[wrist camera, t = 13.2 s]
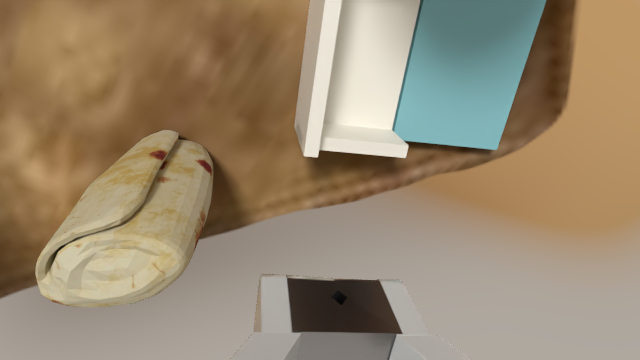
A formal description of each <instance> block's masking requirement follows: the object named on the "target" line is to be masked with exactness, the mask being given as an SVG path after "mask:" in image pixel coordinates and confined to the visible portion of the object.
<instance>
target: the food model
mask: <svg viewBox="0 0 640 360" xmlns="http://www.w3.org/2000/svg"><path fill="white" fill-rule="evenodd" d="M178 135H179V133H177V132H175V131H171V130H163V131H160V132H157V133H154V134H152V135H150V136H148V137H146V138H144V139H142V140H141V141H140V142H139V143H137V144H136V145H135V146H134V147H133V148H131V149H130V150H129V151H128V152H126V153H125V154H124V155H123V156H122V157H121V158H120V159H119V160H118V161H117V162H116V163H114V164H113V165H112V166H111V167H110V168H109V169H108V170H107V171H105V172H104V173H103V174H102V175H101V176H99V177H98V178H97V179H96V180H95V181H94V182H92V183H91V184H90V186H89V187H88V188H87V190H86V191H85V192H84V194H83V195H82V197H81V198H80V200H79V201H78V203H77V204H76V206H75V207H74V209H73V210H72V212H71V213H70V214H69V215H68V217H67V218H66V219H65V221H64V222H63V223H62V225H61V226H60V227H59V229H58V230H57V231H56V233H55V234H54V235H53V237H52V238H51V239H50V241H49V242H48V243H47V245H46V246H45V248H44V249H43V251H42V253H41V254H40V256H39V258H38V260H37V264H36V278H37V282H38V286H39V289H40V292H41V295H43V296H44V297H46V298H47V299H49V300H51V301H52V302H56V303H60V304H63V305H67V306H76V307H104V306H116V305H125V304H132V303H135V302H138V301H141V300H144V299H146V298H149V297H152V296H154V295H157V294H158V293H160V292H161V291H163V290H164V289H165V288H167V287H168V286H169V285H171V284H172V283H173V282H174V281H175V280H176V279H177V278H178V277H179V276H180V275H181V274H182V273H183V271H184V270H185V268H186V267H187V265H188V263H189V262H190V260H191V258H192V255H193V253H194V250H195V248H196V245H197V243H198V240H199V237H200V235H201V232H202V229H203V227H204V224H205V222H206V219H207V215H208V210H209V207H210V204H211V197H212V187H213V163H212V160H211V158H210V156H209V154H208V152H207V150H206V149H205V148H204V147H202V146H201V145H199V144H197V143H195V142H192V141H187V140H179V139H178Z"/></svg>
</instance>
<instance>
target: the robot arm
mask: <svg viewBox="0 0 640 360" xmlns="http://www.w3.org/2000/svg"><path fill="white" fill-rule="evenodd" d="M230 360H471V359H470V358H468V357H467V356H465V355H464V354H463V353H461V352H460V351H459V350H457V349H456V348H454V347H453V346H452V345H450V344H449V343H448V342H446V341H445V340H443V339H442V338H440V337H439V336H438V335H430V333H429V331H428V329H427V327H426V326H425V324H424V322H423V320H422V318H421V317H420V314H419V312H418V311H417V309H416V307H415V305H414V303H413V301H412V299H411V297H410V295H409V293H408V292H407V290H406V288H405V286H404V284H403V282H401V281H400V280H380V279H377V280H356V279H333V278H323V277H308V276H293V275H286V276H285V275H273V274H272V275H271V274H261V276H260V280H259V289H258V296H257V304H256V312H255V322H254V332H253V333H252V334H251V336H250V337H249V338H248V339H247V340H246V341H245V342H244V344H243V345H242V346H241V347H240V348H239V349H238V350H237V352H236V353H235V354H234V355H233V356H232V357H231V358H230Z"/></svg>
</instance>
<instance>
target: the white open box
mask: <svg viewBox="0 0 640 360" xmlns="http://www.w3.org/2000/svg"><path fill="white" fill-rule="evenodd" d="M419 5H420V0H310V5H309V13H308V21H307V29H306V37H305V45H304V53H303V61H302V69H301V77H300V85H299V93H298V101H297V109H296V117H295V125H294V127H295V130H296V133H297V136H298V139H299V143H300V146H301V149H302V152H303V156H306V157H318V154H319V150H325V151H335V152H346V153H357V154H368V155H379V156H389V157H400V158H406V155H407V151H408V147H409V145H408V144H406V143H405V142H404V141H403V140H402V139H401V138H400V137H399V136H398V135H397V134H396V133H395V132H394V131H392V127H393V122H394V118H395V113H396V109H397V104H398V100H399V95H400V91H401V86H402V82H403V77H404V72H405V68H406V63H407V59H408V54H409V50H410V45H411V41H412V36H413V32H414V27H415V23H416V18H417V14H418V9H419Z"/></svg>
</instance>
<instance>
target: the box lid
mask: <svg viewBox="0 0 640 360" xmlns="http://www.w3.org/2000/svg"><path fill="white" fill-rule="evenodd" d="M545 3H546V0H420V5H419V9H418V14H417V18H416V23H415V27H414V32H413V36H412V41H411V45H410V50H409V54H408V59H407V63H406V68H405V72H404V77H403V82H402V86H401V91H400V95H399V100H398V104H397V109H396V113H395V118H394V122H393V127H392V131H394V132H395V133H396V134H397V135H398V136H399V137H400V138H401V139H402V140H403V141H412V142H422V143H432V144H442V145H452V146H462V147H472V148H482V149H492V150H497V148H498V145H499V142H500V139H501V136H502V133H503V130H504V127H505V124H506V121H507V118H508V115H509V112H510V109H511V106H512V103H513V99H514V96H515V93H516V90H517V87H518V84H519V81H520V78H521V75H522V72H523V69H524V66H525V63H526V60H527V57H528V54H529V51H530V48H531V45H532V42H533V39H534V36H535V33H536V30H537V27H538V24H539V21H540V18H541V15H542V12H543V9H544V6H545Z"/></svg>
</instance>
